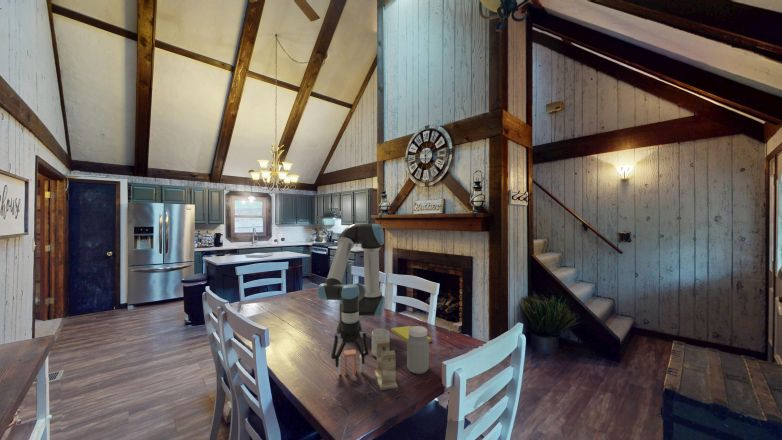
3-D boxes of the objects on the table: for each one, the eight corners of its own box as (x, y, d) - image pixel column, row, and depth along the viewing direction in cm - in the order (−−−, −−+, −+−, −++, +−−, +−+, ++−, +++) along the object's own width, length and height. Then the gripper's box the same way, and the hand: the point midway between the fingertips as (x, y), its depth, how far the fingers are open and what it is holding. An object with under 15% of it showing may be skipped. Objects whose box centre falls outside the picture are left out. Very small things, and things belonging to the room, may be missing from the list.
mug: (387, 359, 140) (387, 336, 140) (369, 358, 141) (369, 335, 141) (391, 348, 152) (391, 327, 152) (374, 347, 153) (375, 326, 153)
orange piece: (344, 375, 125) (344, 354, 125) (343, 370, 129) (344, 350, 129) (356, 374, 127) (356, 353, 126) (355, 369, 130) (355, 349, 130)
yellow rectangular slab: (431, 342, 160) (408, 328, 181) (431, 338, 160) (408, 324, 181) (413, 347, 154) (391, 331, 175) (413, 343, 154) (391, 328, 175)
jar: (412, 361, 138) (413, 323, 138) (432, 367, 133) (432, 327, 133) (403, 371, 129) (403, 330, 129) (423, 377, 124) (423, 335, 124)
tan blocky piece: (374, 371, 128) (374, 340, 128) (389, 370, 130) (389, 339, 130) (380, 390, 115) (380, 355, 115) (397, 387, 116) (398, 353, 116)
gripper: (325, 325, 122) (325, 379, 122) (375, 321, 127) (375, 373, 127) (325, 319, 129) (324, 370, 129) (372, 316, 134) (372, 365, 134)
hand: (350, 372), depth 128 cm, fingers open, 9 cm apart
